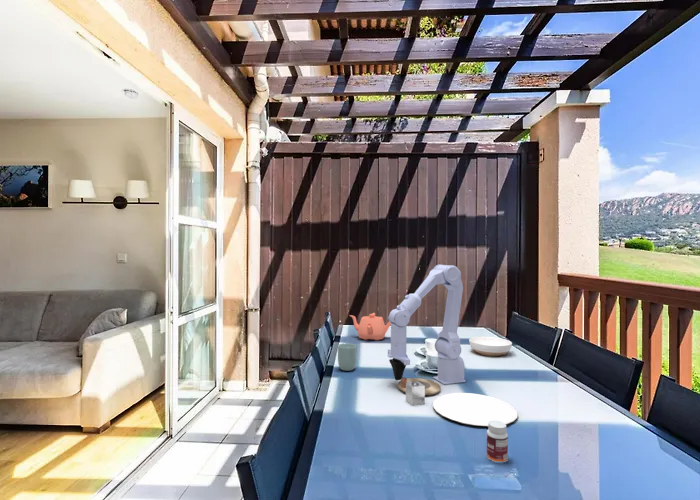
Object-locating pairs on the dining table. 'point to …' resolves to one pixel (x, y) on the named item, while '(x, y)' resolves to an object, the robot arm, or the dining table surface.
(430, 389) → the turntable
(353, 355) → the cup
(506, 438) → the pill bottle
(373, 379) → the dining table surface
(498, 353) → the bowl
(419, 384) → the grey block
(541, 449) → the dining table surface
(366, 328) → the teapot
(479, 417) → the plate
